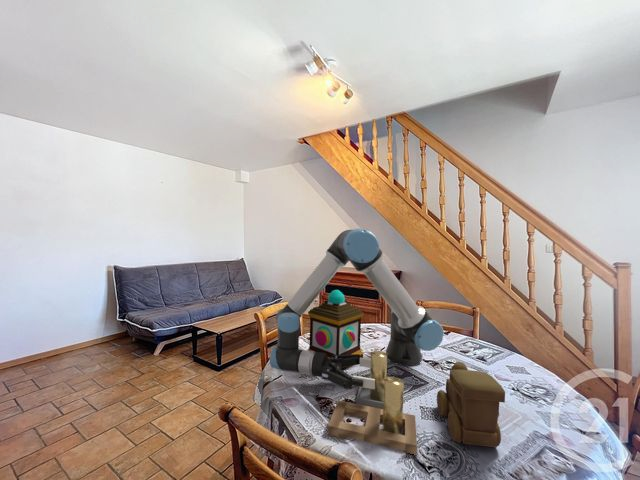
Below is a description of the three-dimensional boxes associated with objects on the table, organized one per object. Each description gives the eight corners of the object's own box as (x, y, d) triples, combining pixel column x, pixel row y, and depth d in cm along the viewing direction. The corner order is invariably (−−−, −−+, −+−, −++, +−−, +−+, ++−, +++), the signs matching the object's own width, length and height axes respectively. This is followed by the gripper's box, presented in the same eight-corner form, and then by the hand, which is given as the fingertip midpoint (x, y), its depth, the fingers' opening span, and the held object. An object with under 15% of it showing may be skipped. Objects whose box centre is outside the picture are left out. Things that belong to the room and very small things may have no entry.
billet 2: (391, 425, 78) (393, 375, 78) (405, 436, 74) (407, 383, 74) (378, 431, 75) (380, 379, 75) (392, 443, 71) (394, 388, 71)
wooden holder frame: (327, 435, 73) (328, 425, 73) (338, 408, 85) (338, 400, 85) (416, 456, 67) (417, 445, 67) (414, 424, 79) (415, 415, 78)
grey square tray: (361, 386, 98) (361, 379, 98) (397, 393, 94) (397, 385, 94) (356, 406, 86) (356, 398, 86) (396, 414, 83) (396, 405, 83)
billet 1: (377, 391, 94) (379, 349, 94) (389, 399, 90) (390, 355, 89) (366, 395, 91) (367, 352, 91) (377, 403, 87) (379, 358, 87)
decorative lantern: (331, 348, 131) (333, 284, 131) (367, 361, 118) (370, 290, 117) (300, 361, 116) (302, 289, 116) (338, 378, 103) (340, 297, 102)
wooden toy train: (507, 461, 66) (509, 391, 66) (456, 454, 68) (458, 386, 68) (472, 409, 86) (474, 355, 86) (433, 405, 88) (435, 352, 88)
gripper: (323, 359, 108) (379, 368, 102) (300, 393, 84) (372, 407, 78) (324, 340, 108) (380, 347, 102) (301, 368, 84) (373, 380, 78)
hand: (377, 373), depth 90 cm, fingers open, 13 cm apart
